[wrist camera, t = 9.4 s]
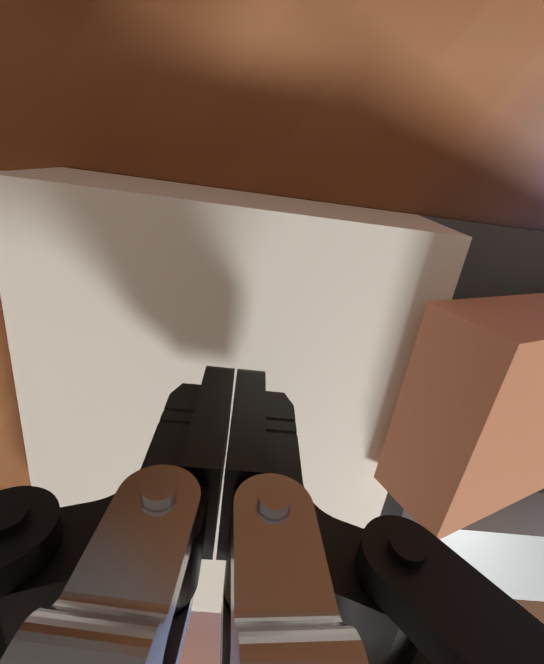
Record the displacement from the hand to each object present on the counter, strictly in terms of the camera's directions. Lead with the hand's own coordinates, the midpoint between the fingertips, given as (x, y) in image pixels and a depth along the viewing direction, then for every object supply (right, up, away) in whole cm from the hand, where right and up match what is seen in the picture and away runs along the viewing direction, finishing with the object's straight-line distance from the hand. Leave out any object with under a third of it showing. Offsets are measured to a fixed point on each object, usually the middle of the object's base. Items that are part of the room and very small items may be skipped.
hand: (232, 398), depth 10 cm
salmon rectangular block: (+9, 0, +3) cm, 9 cm away
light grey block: (+11, -7, +9) cm, 16 cm away
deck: (-1, -1, +6) cm, 6 cm away
